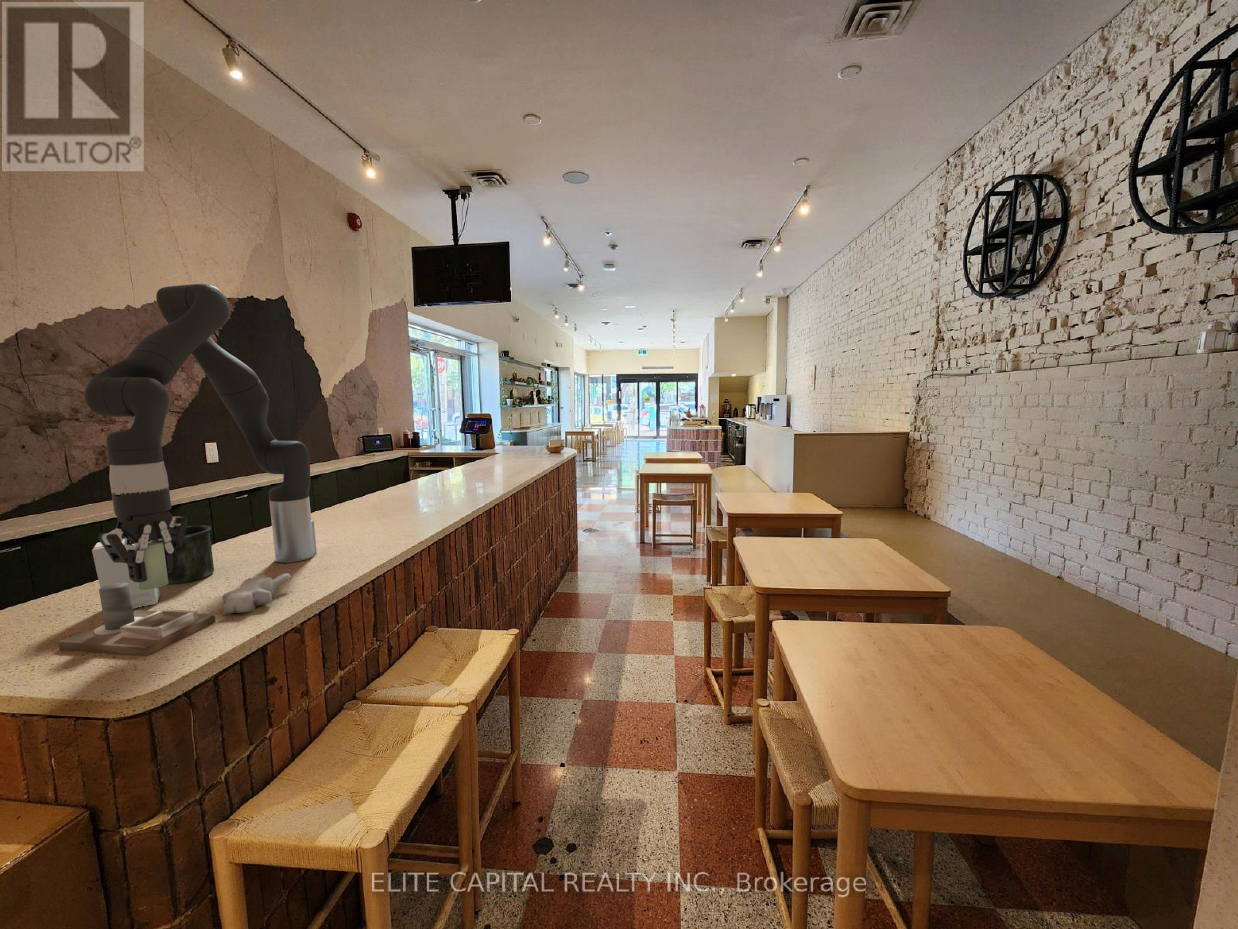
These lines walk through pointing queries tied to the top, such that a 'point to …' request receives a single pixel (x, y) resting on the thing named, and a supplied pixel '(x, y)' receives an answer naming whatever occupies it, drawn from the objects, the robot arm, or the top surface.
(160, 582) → the green pin
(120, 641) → the board
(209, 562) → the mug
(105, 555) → the skincare box
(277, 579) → the bunny figurine
